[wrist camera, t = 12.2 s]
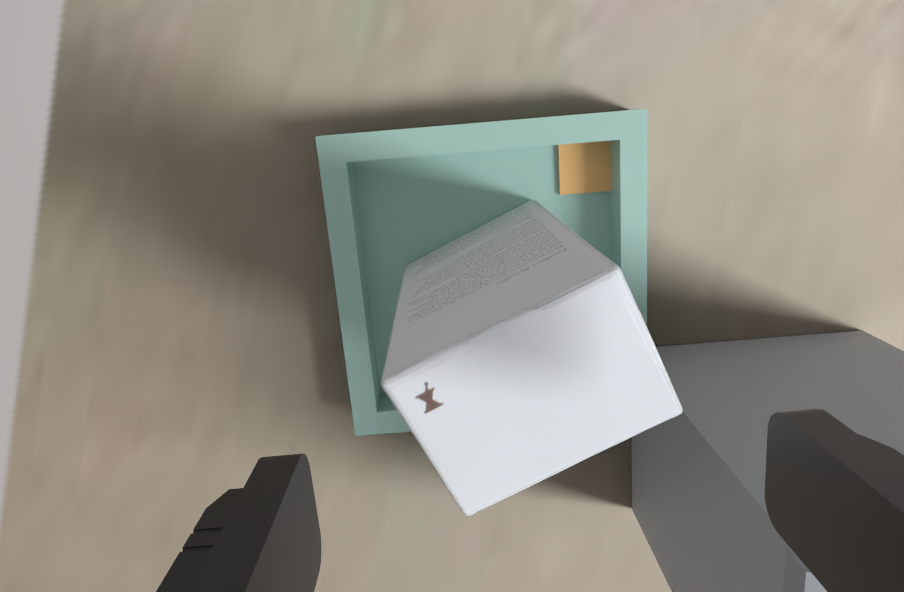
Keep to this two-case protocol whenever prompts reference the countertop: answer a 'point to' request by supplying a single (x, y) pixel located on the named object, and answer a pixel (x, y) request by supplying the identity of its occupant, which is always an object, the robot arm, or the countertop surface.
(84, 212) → the countertop surface
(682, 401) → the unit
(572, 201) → the tray
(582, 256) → the skincare box
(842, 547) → the robot arm
